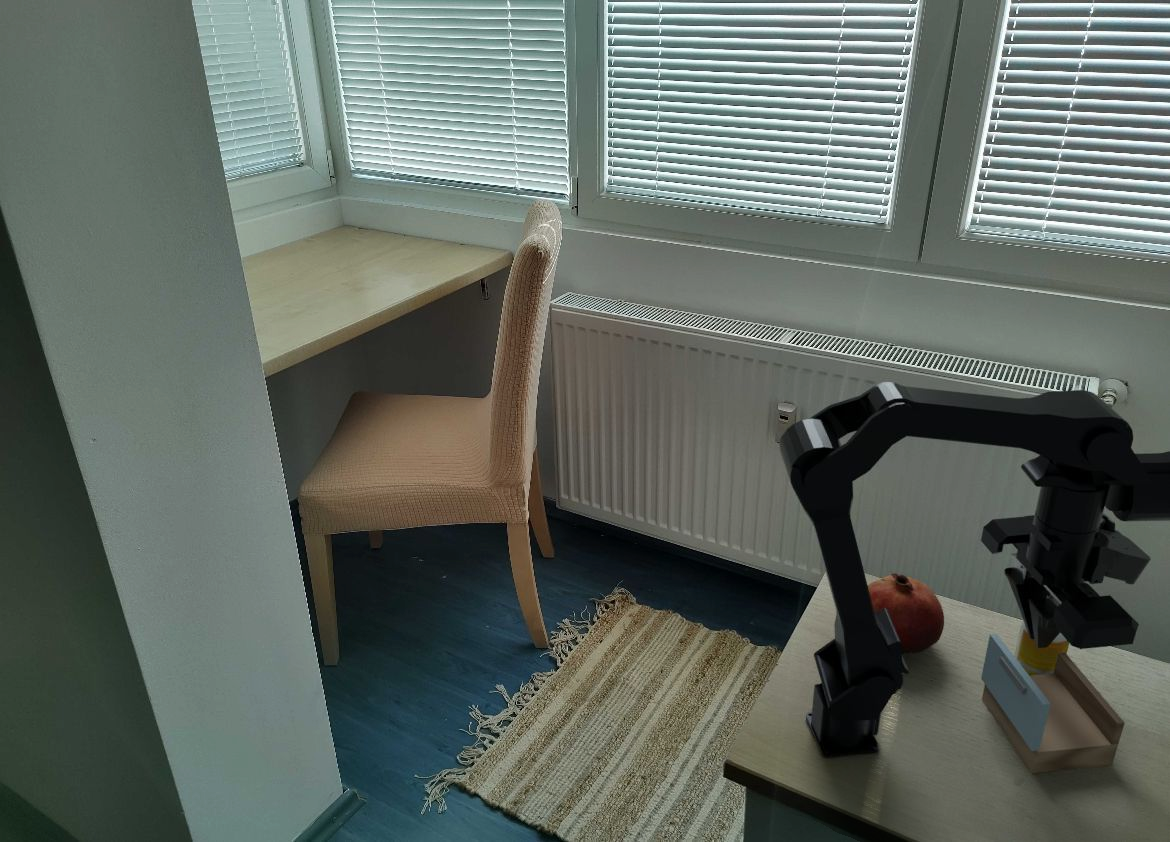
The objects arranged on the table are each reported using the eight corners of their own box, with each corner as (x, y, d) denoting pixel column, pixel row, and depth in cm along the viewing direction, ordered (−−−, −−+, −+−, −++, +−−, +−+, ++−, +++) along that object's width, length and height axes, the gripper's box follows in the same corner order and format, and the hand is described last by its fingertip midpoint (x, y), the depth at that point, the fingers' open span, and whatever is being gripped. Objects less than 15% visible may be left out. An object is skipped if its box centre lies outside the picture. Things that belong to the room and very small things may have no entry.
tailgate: (1029, 751, 95) (1040, 704, 92) (978, 678, 105) (987, 634, 102) (1039, 750, 95) (1050, 703, 92) (987, 677, 105) (996, 633, 102)
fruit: (841, 651, 115) (847, 587, 110) (866, 608, 122) (873, 547, 118) (927, 681, 109) (938, 615, 105) (947, 634, 117) (958, 571, 112)
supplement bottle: (1066, 686, 108) (1083, 622, 103) (1018, 682, 109) (1032, 617, 104) (1055, 656, 112) (1070, 593, 108) (1008, 652, 113) (1022, 589, 109)
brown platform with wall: (1031, 773, 97) (1042, 731, 94) (981, 699, 106) (989, 659, 104) (1112, 764, 97) (1124, 722, 94) (1055, 691, 107) (1065, 652, 104)
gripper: (1212, 566, 81) (1169, 697, 88) (1089, 465, 98) (1061, 582, 105) (1093, 577, 80) (1059, 709, 87) (990, 473, 97) (968, 591, 104)
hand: (1038, 642), depth 96 cm, fingers closed
